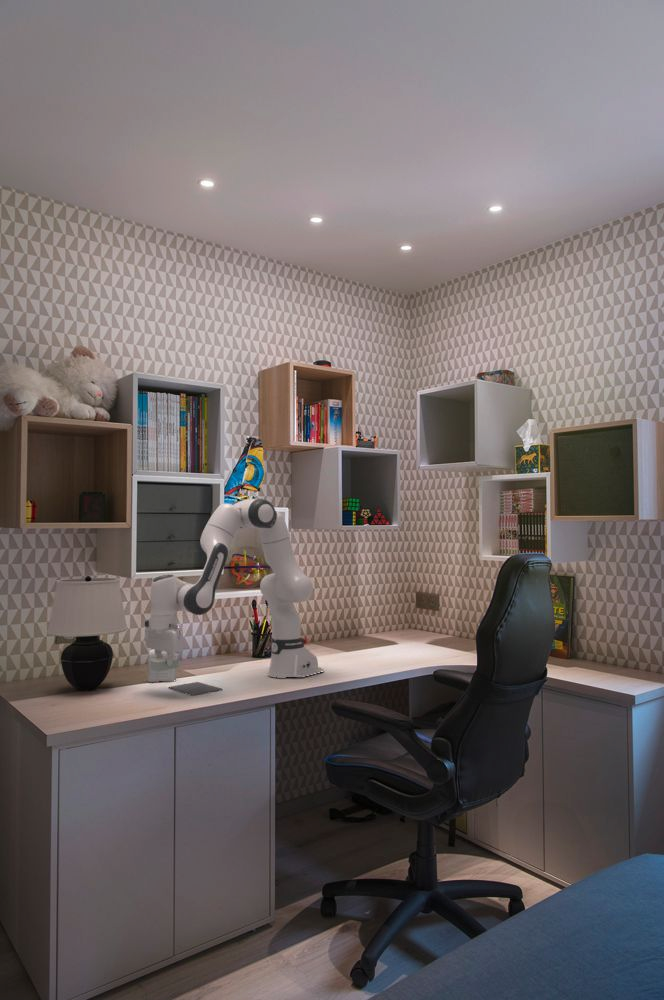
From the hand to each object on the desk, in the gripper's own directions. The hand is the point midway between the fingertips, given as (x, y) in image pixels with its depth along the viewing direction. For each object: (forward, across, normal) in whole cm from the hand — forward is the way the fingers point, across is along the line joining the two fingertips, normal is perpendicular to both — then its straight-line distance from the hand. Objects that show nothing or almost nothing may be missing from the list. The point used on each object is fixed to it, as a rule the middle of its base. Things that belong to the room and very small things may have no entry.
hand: (164, 663), depth 240 cm
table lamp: (+10, +26, +16) cm, 32 cm away
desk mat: (+11, 0, -12) cm, 16 cm away
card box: (+2, 0, 0) cm, 2 cm away
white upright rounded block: (+11, +20, -10) cm, 25 cm away
